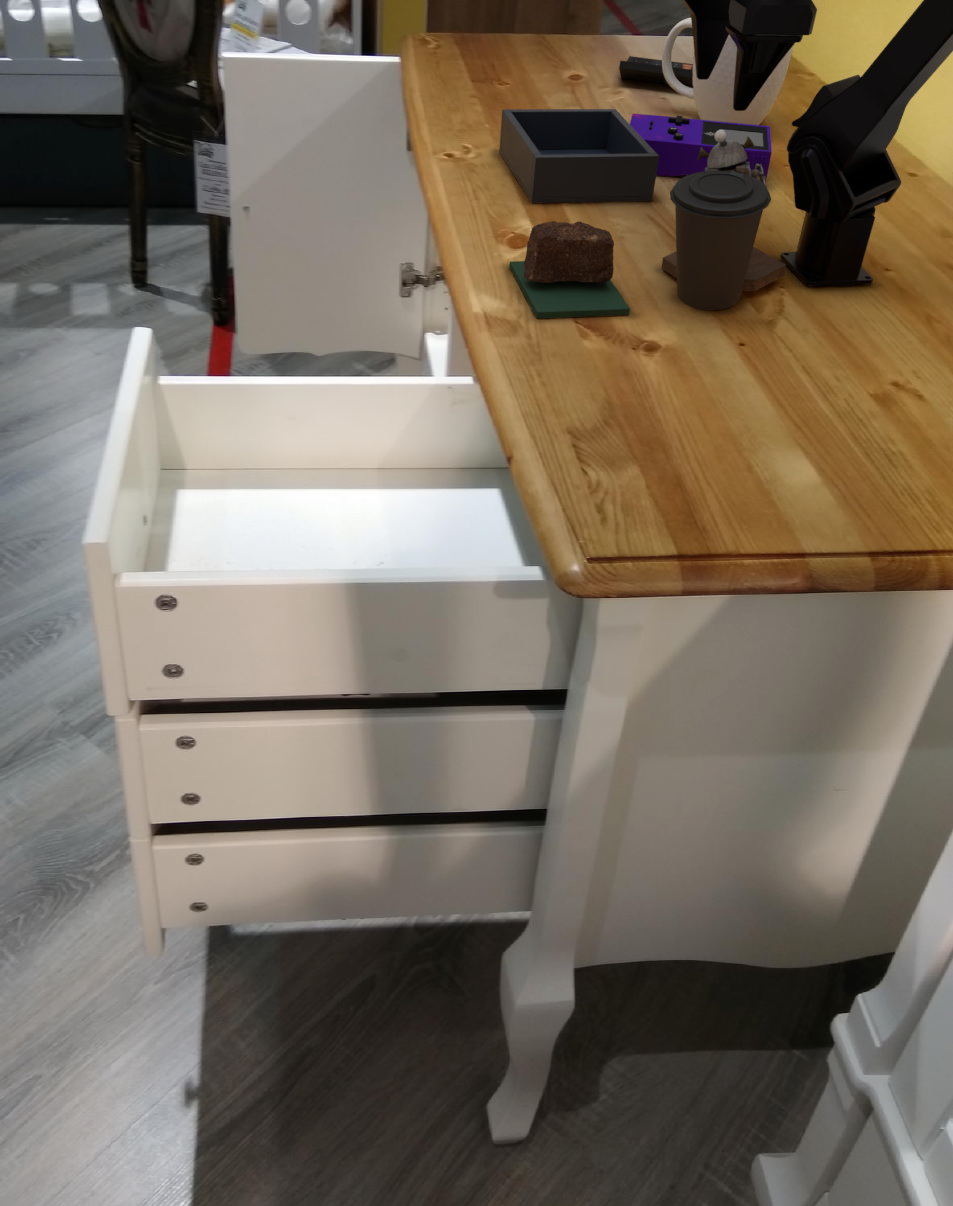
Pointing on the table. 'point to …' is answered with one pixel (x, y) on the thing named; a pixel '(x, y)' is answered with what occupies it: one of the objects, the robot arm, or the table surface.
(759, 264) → the robot figurine
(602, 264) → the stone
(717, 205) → the coffee cup
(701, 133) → the handheld gaming console
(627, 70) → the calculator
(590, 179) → the open box
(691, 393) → the table surface
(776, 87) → the mug
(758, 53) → the robot arm
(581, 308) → the mat
